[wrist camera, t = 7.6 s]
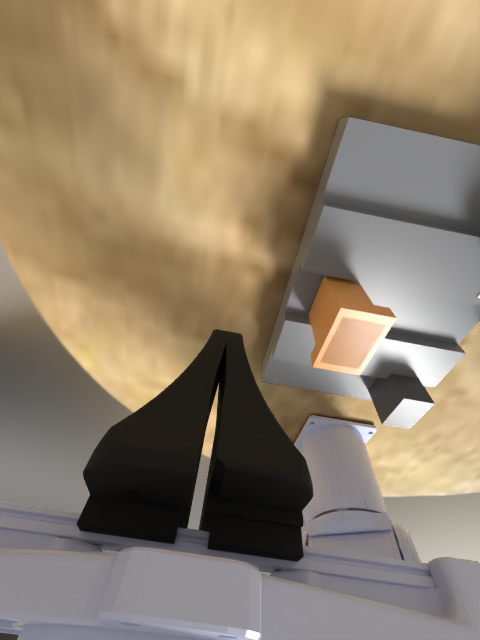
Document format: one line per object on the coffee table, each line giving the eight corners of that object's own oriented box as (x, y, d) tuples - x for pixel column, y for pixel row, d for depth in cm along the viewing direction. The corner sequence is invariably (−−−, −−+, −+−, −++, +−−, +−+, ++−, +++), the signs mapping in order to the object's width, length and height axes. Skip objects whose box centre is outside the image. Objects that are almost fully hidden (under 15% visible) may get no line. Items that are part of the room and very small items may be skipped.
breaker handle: (340, 326, 20) (360, 375, 16) (302, 319, 20) (312, 367, 16) (366, 275, 18) (397, 318, 14) (322, 267, 17) (340, 307, 13)
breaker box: (395, 389, 27) (421, 440, 22) (261, 366, 26) (261, 413, 22) (572, 169, 15) (701, 184, 11) (339, 118, 15) (373, 112, 10)
